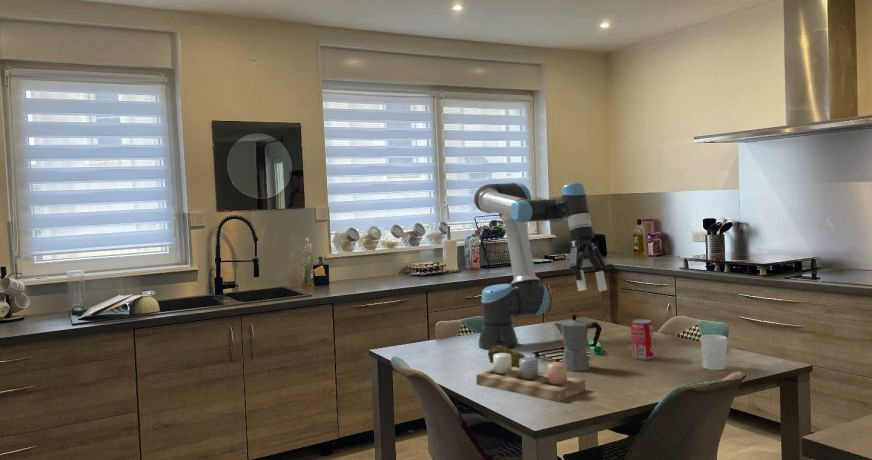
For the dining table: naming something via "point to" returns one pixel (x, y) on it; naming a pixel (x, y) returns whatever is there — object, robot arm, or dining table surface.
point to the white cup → (714, 351)
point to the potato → (501, 349)
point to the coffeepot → (577, 342)
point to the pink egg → (557, 372)
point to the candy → (596, 349)
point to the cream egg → (502, 363)
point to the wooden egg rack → (531, 384)
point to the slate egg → (528, 367)
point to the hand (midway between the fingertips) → (593, 290)
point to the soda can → (642, 339)
